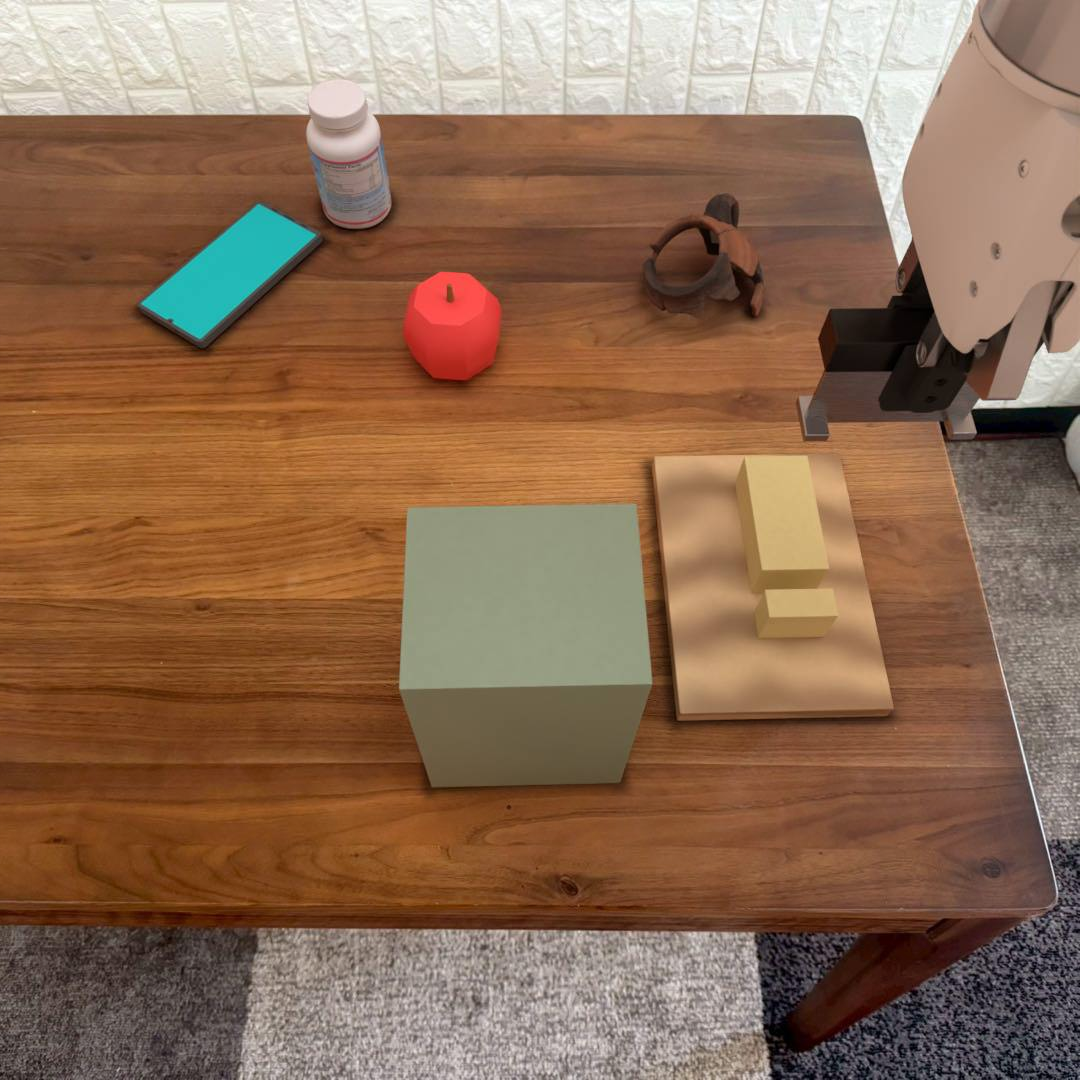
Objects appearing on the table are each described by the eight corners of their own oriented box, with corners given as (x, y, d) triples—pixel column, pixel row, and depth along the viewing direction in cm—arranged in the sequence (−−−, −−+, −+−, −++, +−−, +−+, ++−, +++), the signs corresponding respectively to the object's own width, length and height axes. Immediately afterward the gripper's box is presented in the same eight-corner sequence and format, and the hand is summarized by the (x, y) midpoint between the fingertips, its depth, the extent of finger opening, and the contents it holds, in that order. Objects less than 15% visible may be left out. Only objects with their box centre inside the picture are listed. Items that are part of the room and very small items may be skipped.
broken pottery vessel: (764, 348, 79) (733, 298, 72) (659, 355, 84) (620, 308, 77) (784, 221, 82) (755, 161, 75) (681, 234, 87) (645, 179, 80)
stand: (620, 783, 61) (652, 683, 45) (431, 787, 61) (398, 689, 45) (610, 638, 66) (636, 503, 50) (435, 641, 66) (407, 506, 50)
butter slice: (823, 637, 65) (838, 616, 62) (757, 638, 64) (769, 617, 61) (819, 610, 66) (833, 588, 62) (753, 611, 65) (764, 589, 62)
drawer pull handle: (978, 439, 47) (1047, 344, 41) (796, 442, 47) (838, 347, 41) (966, 400, 48) (1032, 301, 42) (789, 402, 48) (828, 304, 42)
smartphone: (322, 233, 83) (199, 343, 77) (324, 240, 84) (203, 350, 78) (259, 198, 85) (134, 303, 79) (261, 206, 86) (138, 310, 79)
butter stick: (815, 591, 66) (829, 568, 63) (750, 593, 66) (761, 570, 63) (795, 481, 71) (807, 455, 68) (734, 482, 70) (744, 456, 67)
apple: (388, 372, 77) (374, 302, 70) (438, 305, 80) (429, 232, 73) (474, 409, 75) (469, 341, 68) (522, 339, 79) (521, 268, 72)
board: (887, 716, 64) (894, 709, 62) (676, 721, 63) (679, 713, 62) (834, 463, 73) (839, 452, 72) (651, 466, 73) (653, 455, 72)
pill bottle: (334, 180, 87) (310, 68, 78) (399, 189, 87) (383, 77, 77) (315, 227, 85) (287, 116, 75) (382, 237, 84) (362, 127, 74)
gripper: (1356, 182, 25) (1030, 528, 41) (1152, -144, 33) (945, 256, 49) (1072, 184, 25) (856, 531, 41) (934, -144, 32) (798, 258, 49)
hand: (906, 380), depth 45 cm, fingers closed on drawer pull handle, 2 cm apart
